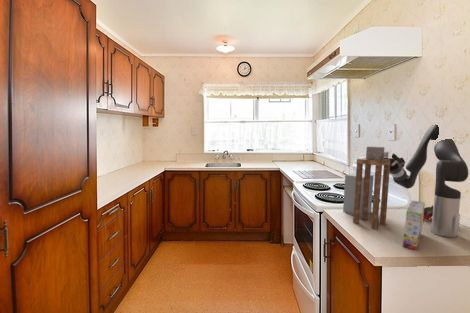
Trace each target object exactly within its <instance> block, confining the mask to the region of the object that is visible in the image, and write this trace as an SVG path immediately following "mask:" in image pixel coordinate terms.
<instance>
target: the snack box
mask: <svg viewBox="0 0 470 313" xmlns="http://www.w3.org/2000/svg"><path fill="white" fill-rule="evenodd" d="M425 204H426V202H424V201H419V200H411V201H410V203H409V205H408V208H407V210H406V214H405V225H404V232H403V241H402V242H403V243H402V247H404V248H408V249H411V250H414V251H417V250H418V249H419V245H420V241H421V237H422V232H423V222H424V221H423V215H424V208H425Z"/></svg>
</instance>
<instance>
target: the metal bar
mask: <svg viewBox="0 0 470 313" xmlns="http://www.w3.org/2000/svg"><path fill="white" fill-rule="evenodd" d="M365 158H366V159H368V160H379V161H380V160H384V158H389V151H385V147H384V146H366V154H365Z"/></svg>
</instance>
